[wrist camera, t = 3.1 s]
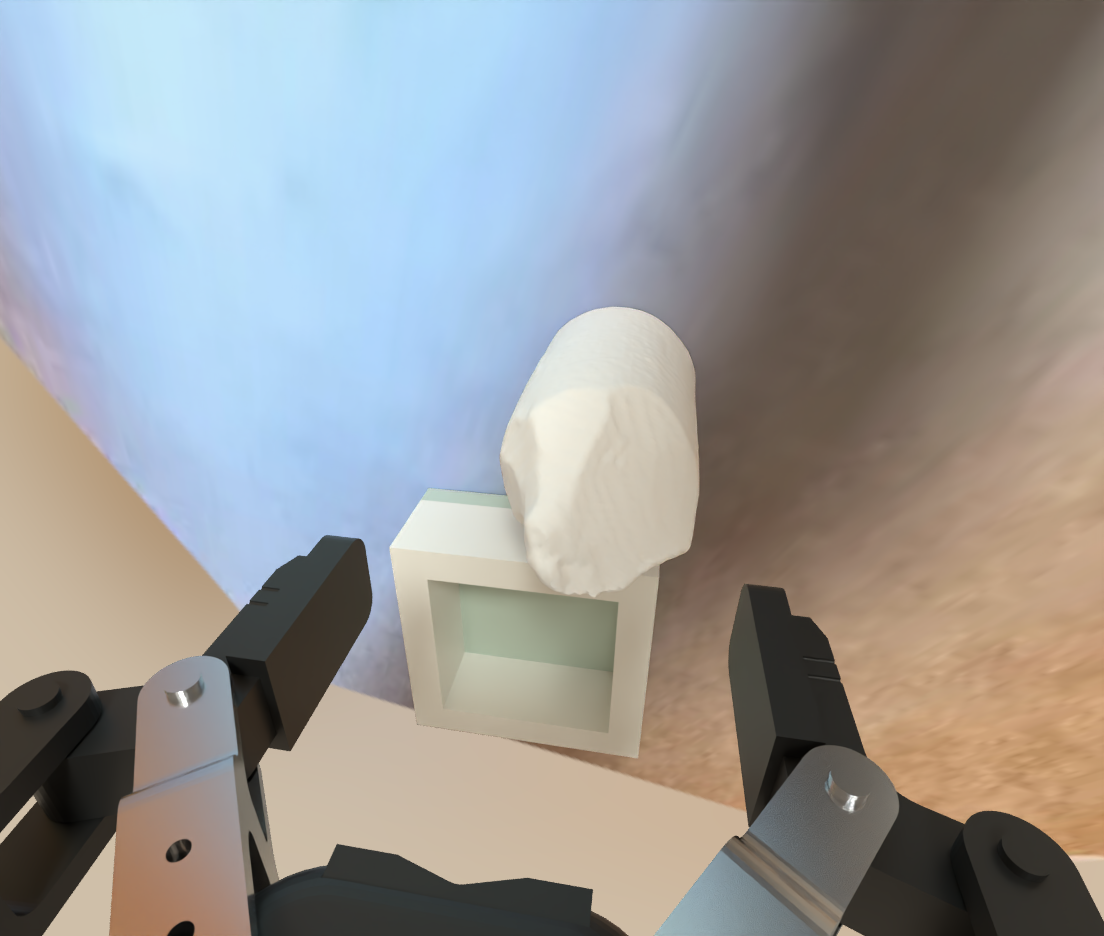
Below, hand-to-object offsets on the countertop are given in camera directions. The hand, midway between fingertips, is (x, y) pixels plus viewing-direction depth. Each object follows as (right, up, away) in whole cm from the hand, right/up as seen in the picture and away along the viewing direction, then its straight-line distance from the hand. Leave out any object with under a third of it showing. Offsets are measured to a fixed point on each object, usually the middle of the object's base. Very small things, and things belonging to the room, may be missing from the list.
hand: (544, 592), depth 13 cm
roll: (+3, +6, +11) cm, 13 cm away
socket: (0, -3, +17) cm, 17 cm away
